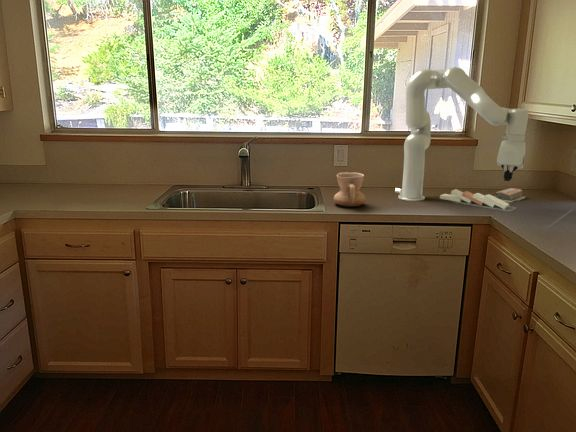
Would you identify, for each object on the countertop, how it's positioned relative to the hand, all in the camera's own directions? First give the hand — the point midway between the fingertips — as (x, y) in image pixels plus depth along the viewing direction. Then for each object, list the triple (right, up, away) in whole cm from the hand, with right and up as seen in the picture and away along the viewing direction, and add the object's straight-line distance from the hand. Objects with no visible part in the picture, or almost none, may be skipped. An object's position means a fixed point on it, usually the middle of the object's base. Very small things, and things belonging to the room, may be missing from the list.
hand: (507, 180), depth 202 cm
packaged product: (+12, -8, +24) cm, 27 cm away
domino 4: (-3, -11, +6) cm, 12 cm away
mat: (-6, -11, +9) cm, 16 cm away
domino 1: (-14, -8, +15) cm, 22 cm away
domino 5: (+1, -11, +2) cm, 12 cm away
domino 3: (-6, -10, +9) cm, 15 cm away
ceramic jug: (-68, -11, +9) cm, 69 cm away
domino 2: (-10, -9, +12) cm, 18 cm away
